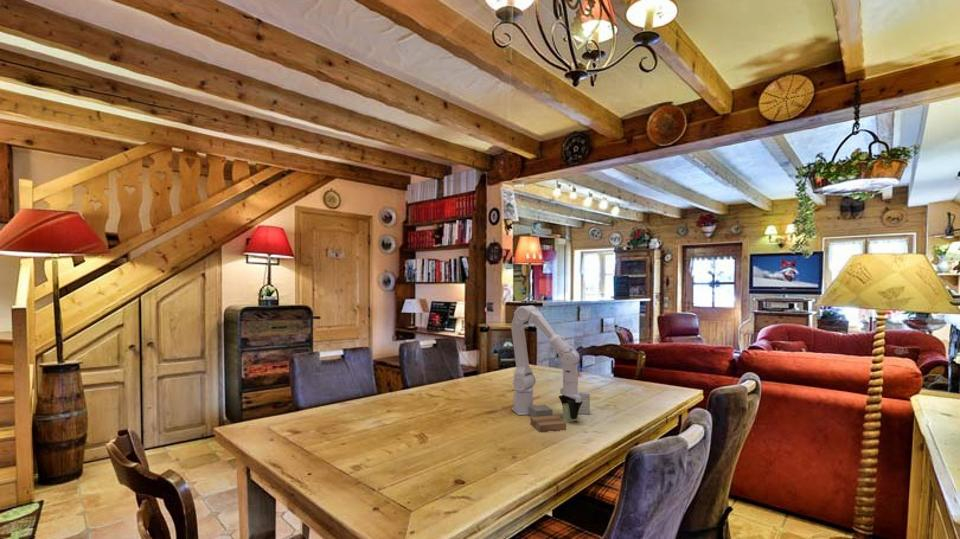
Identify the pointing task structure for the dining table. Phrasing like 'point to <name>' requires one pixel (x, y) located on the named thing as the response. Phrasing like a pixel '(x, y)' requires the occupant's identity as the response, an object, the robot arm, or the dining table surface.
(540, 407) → the grey block
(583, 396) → the medicine box
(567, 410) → the sage block
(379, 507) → the dining table surface
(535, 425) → the walnut block
